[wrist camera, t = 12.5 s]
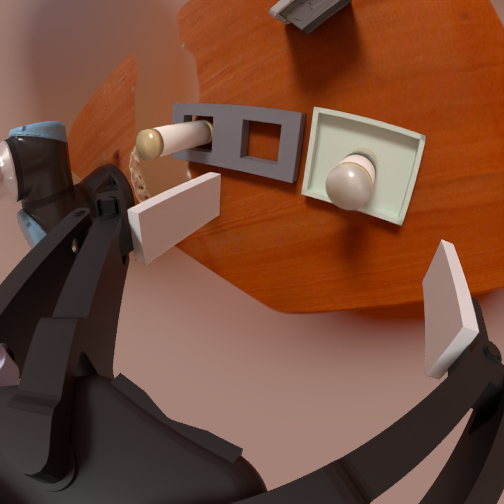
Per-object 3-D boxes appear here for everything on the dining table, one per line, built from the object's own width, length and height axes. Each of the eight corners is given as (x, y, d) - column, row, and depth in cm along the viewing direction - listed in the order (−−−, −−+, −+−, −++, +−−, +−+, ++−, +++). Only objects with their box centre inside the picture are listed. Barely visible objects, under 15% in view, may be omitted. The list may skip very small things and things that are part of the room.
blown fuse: (350, 144, 29) (329, 158, 20) (380, 152, 28) (376, 171, 19) (344, 173, 31) (321, 202, 22) (374, 182, 30) (365, 216, 21)
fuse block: (180, 155, 42) (172, 158, 40) (181, 102, 37) (172, 103, 36) (297, 179, 35) (292, 183, 34) (306, 113, 30) (301, 113, 29)
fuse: (195, 142, 40) (136, 159, 30) (196, 118, 37) (135, 129, 28) (215, 145, 38) (157, 162, 29) (216, 120, 36) (156, 130, 27)
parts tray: (305, 190, 35) (301, 194, 34) (318, 107, 29) (314, 106, 28) (401, 219, 31) (401, 225, 29) (423, 135, 24) (426, 136, 23)
